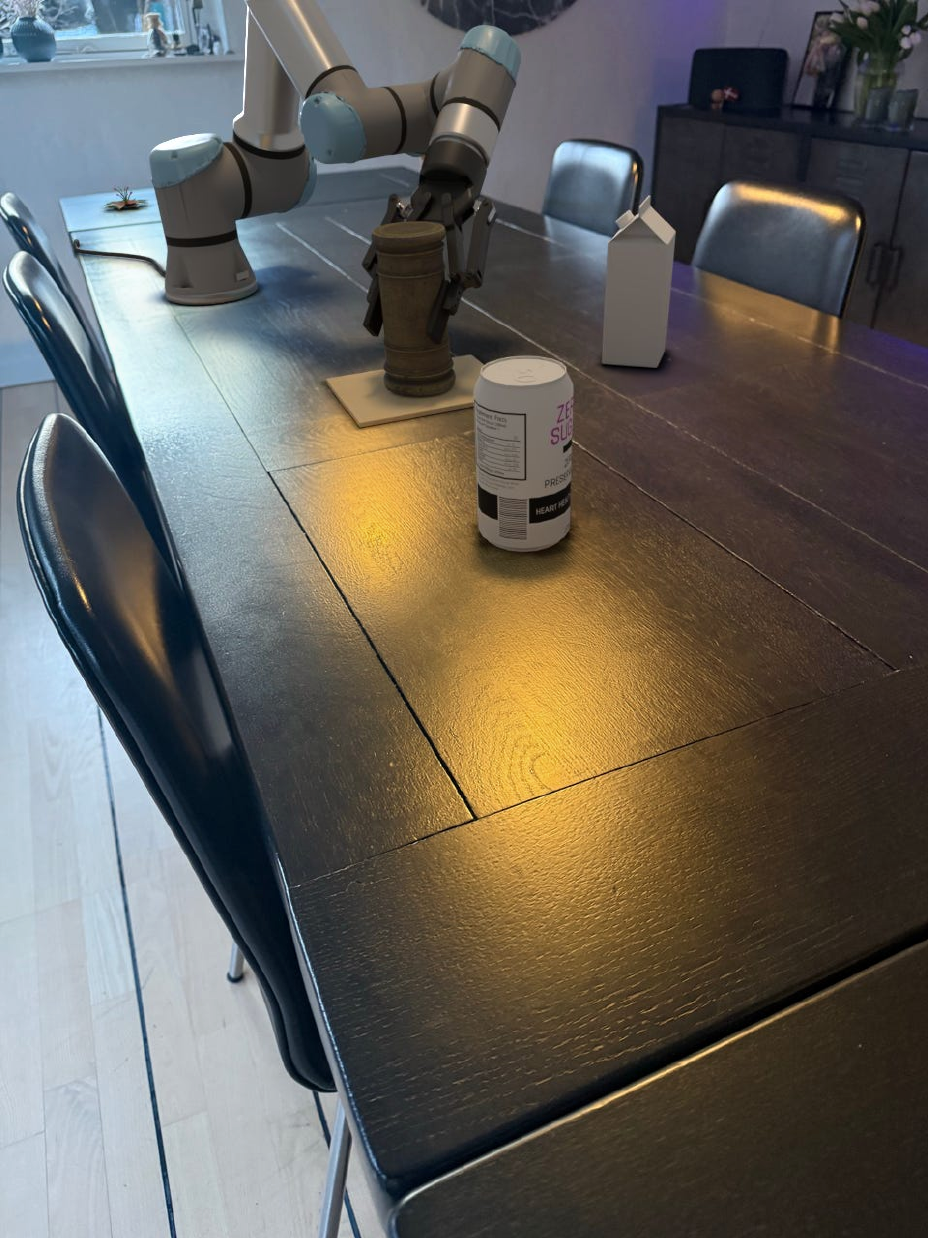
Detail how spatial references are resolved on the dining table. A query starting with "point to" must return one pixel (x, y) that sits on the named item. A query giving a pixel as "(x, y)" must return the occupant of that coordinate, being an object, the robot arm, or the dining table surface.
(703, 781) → the dining table surface
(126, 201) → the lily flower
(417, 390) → the container
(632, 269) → the milk carton
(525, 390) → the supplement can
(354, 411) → the mat
